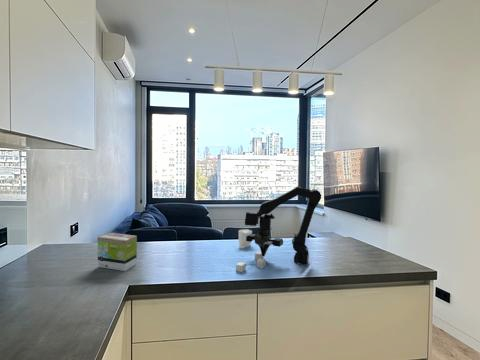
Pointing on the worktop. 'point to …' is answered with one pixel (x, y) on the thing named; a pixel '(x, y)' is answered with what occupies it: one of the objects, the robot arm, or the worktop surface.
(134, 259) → the tea box
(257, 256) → the block
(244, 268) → the near slider
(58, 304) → the worktop surface
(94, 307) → the worktop surface
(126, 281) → the worktop surface
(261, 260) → the middle slider
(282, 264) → the worktop surface
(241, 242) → the white cup
